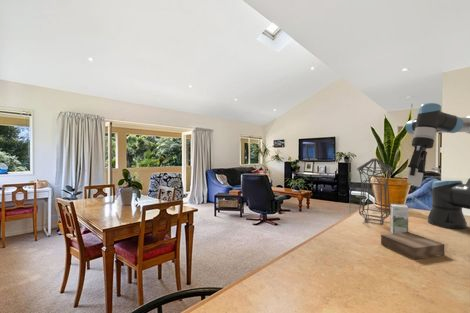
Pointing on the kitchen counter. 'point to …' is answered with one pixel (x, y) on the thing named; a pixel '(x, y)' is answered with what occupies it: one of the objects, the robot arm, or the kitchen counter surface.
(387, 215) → the geometric lantern
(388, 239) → the walnut base
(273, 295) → the kitchen counter surface
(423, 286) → the kitchen counter surface
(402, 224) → the syrup box
